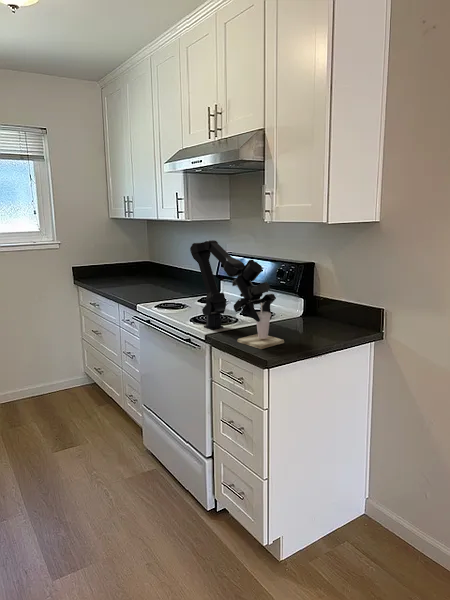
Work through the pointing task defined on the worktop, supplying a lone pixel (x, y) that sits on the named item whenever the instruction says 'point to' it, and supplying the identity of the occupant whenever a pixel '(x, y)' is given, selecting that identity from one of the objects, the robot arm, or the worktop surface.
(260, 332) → the smoothie
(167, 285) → the worktop surface
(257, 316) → the robot arm
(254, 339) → the cutting board
